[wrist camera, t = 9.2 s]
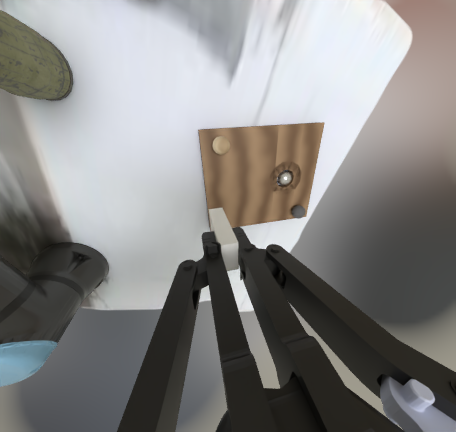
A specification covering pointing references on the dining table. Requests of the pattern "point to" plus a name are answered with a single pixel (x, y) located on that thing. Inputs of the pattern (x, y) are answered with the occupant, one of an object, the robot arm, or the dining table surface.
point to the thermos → (31, 63)
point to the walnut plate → (260, 171)
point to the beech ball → (221, 145)
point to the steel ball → (284, 178)
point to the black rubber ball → (298, 211)
